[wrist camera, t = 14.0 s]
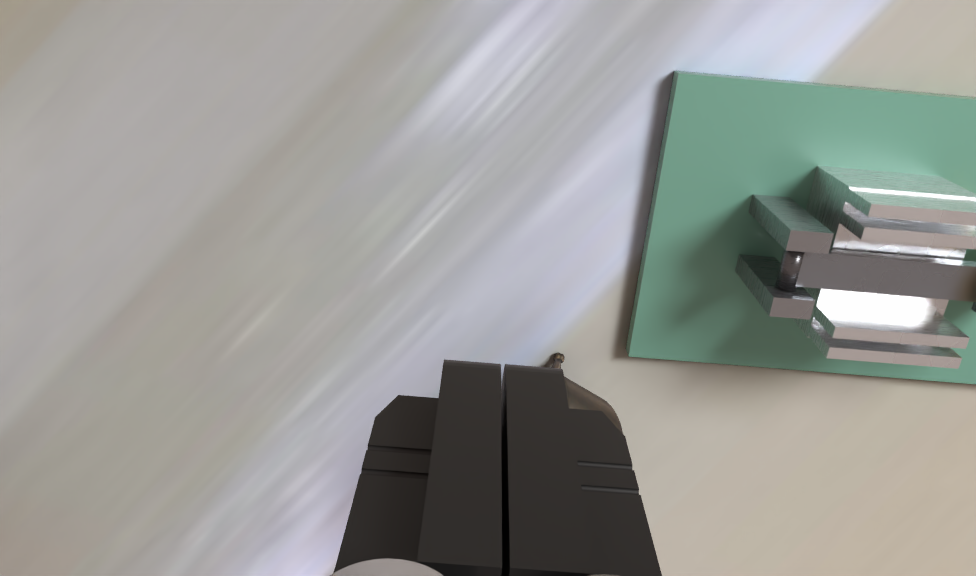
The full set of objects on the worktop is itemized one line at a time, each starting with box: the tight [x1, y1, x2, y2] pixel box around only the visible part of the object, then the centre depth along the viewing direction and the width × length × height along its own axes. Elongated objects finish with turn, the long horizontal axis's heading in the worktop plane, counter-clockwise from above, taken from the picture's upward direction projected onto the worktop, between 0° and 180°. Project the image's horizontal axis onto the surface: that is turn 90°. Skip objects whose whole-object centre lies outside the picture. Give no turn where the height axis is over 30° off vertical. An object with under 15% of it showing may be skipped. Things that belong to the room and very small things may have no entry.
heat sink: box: [735, 166, 976, 369], centre depth 39 cm, size 8×10×6 cm
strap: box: [775, 249, 976, 312], centre depth 37 cm, size 3×12×1 cm, turn 85°
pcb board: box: [626, 71, 976, 384], centre depth 42 cm, size 16×24×1 cm, turn 85°
